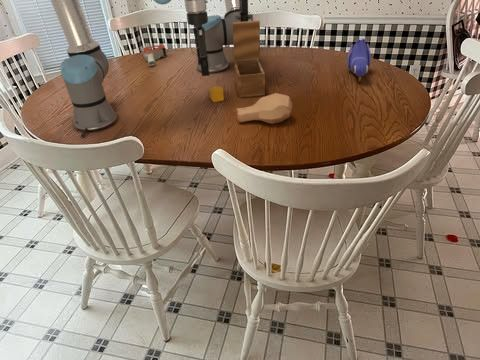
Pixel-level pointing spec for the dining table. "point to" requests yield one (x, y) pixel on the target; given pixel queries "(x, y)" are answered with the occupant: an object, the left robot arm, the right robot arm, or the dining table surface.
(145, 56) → the tape dispenser
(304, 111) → the dining table surface
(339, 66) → the dining table surface
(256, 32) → the lid
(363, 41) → the toy
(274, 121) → the squash
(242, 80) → the wooden box
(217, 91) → the block
